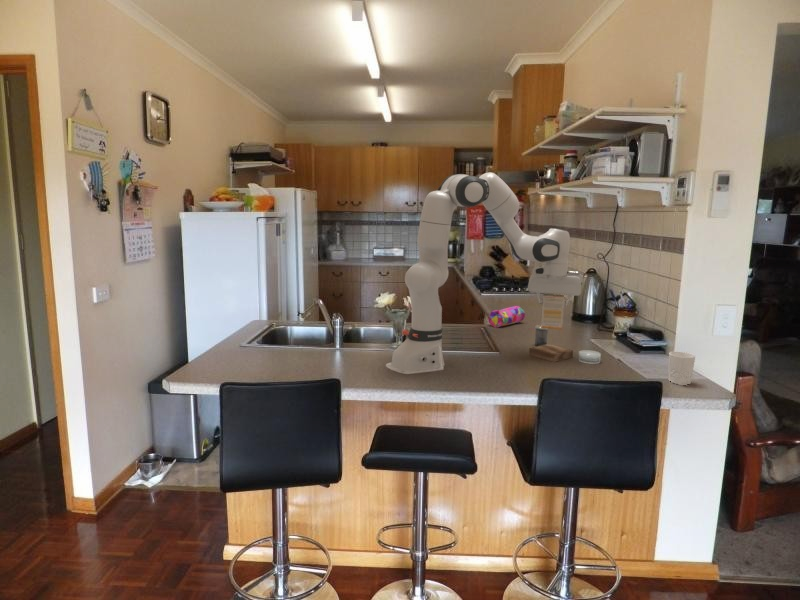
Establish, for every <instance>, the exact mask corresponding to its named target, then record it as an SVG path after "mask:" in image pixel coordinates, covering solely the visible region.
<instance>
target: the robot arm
mask: <svg viewBox="0 0 800 600" xmlns="http://www.w3.org/2000/svg"><path fill="white" fill-rule="evenodd" d="M479 204H482V205H483V206H484V208H485V210H487V212H488V213H489V214H490V215H491V217H492V218H493V219H494V221H495V223H496V225H497V226H498V228H499V229H500V230H501V232H502V234H503V235H504V236H505V238H506V240H508V243H509V244H510V247H511V251H512V254H513V255H514V257H515V258H516V259H518V260H520V261H530V262H537V263H544V264H543V265H538V266H535V267H533V268H532V270H531V271H532V274H531V276H530V277H529V280H528V283H527V291H528V292H529V293H535V296H536V298H537V300H538V301H537V302H538V305H542V301H543V298H542V299H541V297H540V295H541V293H542V294H551V295H564V296H567V300H564V307H568V305H569V301H570V300H572V297H573V296H575V297H579V296H580V295H581V294H582V283H583V282H584V274H583V273H581V272H580V271H573V270H569V254H570V250H571V249H570V248H571V237H570V232H569V231H567V230H566V229H563V228H557V227H551V228H549V229H548V231H546V232H545V233H542V234H540V235H538V236H537V235H536V236H534V235H529V234H528V233H527V234H526V233H525V232H524V231H522V229H521V228H520V226H519V225H518V223H517V222H516V220H515V219H514V218H515V217H516V216H517V215H518V212H519V210H520V201H519V199H518V197H517V195H516V194H515V192H514V191H513V190H512V189H511V188H510V186H508V184H507V183H506V182H505V181H504V180H503V179H502V178H500V176H498V175H497V174H496V173H495V172H491V171H490V172H485V173H483V174H481V175H479V177H478V176H475V175H468V174H464V173H459V174H458V173H457V174H451V175H449V176H447V177H446V178H444V180H443V181H442V183H441V184H440V186H439V187H438V189H437V190H433V191H430V192H429V193H428V194H427V195H426V197H425V199H424V202H423V206H422V208H421V209H422V210H421V214H420V221H419V224H418V225H419V226H418V233H417V240H416V242H417V247H418V254H419V255H418V256H419V258H418V259H419V260H418V262H415V263H413V264H412V265H411V266H410V267H409V268H408V270H407V271H406V272H405V275H404V282H405V286H406V287H407V288H408V293H409V298H410V304H411V306H410V307H411V327H410V328H409V330H408V329H403V330H402V332H401V334H402V335H404V336H406V337H407V338H406V339H405V340H404V341H403V342H402V343H401V344H400V345H399V346H398V347H396V349H395V350H393V352H392V355H391V356H392V358H391V362H388V363H386V364H385V368H386V369H388V370H391V371H393V372H396V373H399V374H405V375H410V374H411V375H413V374H422V373H429V372H437V371H443V370H444V367H445V365H446V364H445V361H444V360H445V359H444V356H443V355H444V354H443V347H442V345H443V344H442V339H443V327H442V324H443V323H442V319H443V317H442V315H443V313H442V312H443V307H442V305H441V300H440V296H439V288H441V287H442V286H444V284H445V283H446V282H447V280H448V277H449V275H450V274H449V273H450V272H449V268H448V266H449V263H448V260H449V259H448V257H449V256H448V254H449V253H448V250H449V249H448V247H449V240H450V234H451V233H450V232H451V227H452V226H451V225H452V221H453V220H452V218H453V215H454V211H455V210H456V208H457V207H460V208H461V207H464V208H472V207H476V206H479Z"/></svg>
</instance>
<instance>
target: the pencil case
mask: <svg viewBox="0 0 800 600" xmlns="http://www.w3.org/2000/svg"><path fill="white" fill-rule="evenodd" d="M525 316H526V312H525V310H524V309H522V307H520V306H519V305H513V306H510V307H505V308H502V309H499V310H498V309H494V310H492V311H491V312H489V316H488V323H489V325H490V326H491V327H494V328H501V327H505V326H509V325H513V324H516V323H520V322H523V320H524V319H525Z"/></svg>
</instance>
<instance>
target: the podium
mask: <svg viewBox="0 0 800 600" xmlns="http://www.w3.org/2000/svg"><path fill="white" fill-rule="evenodd" d="M528 350H529V351H528V355H529V356H531V357H536V358H539V359H543V360H545V361H546V360H547V361H550V362H554V363H555V362H558V361H563V360H567V359H571V358H573V355H574V350H573V349H569V348H565V347H562V346H557V345H553V344H549V343H547V344H546V345H542V346H537V347H536V346H534V347H529V348H528Z"/></svg>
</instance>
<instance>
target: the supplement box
mask: <svg viewBox="0 0 800 600" xmlns="http://www.w3.org/2000/svg"><path fill="white" fill-rule="evenodd" d="M542 299H543V301H542V304H541V316H540V318H541V319H540V325H541V328H548V329H553V330H563V322H564V312H565V311H564V310H565V306H564V301H566V300H565V295H562V294H549V293H542Z"/></svg>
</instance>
